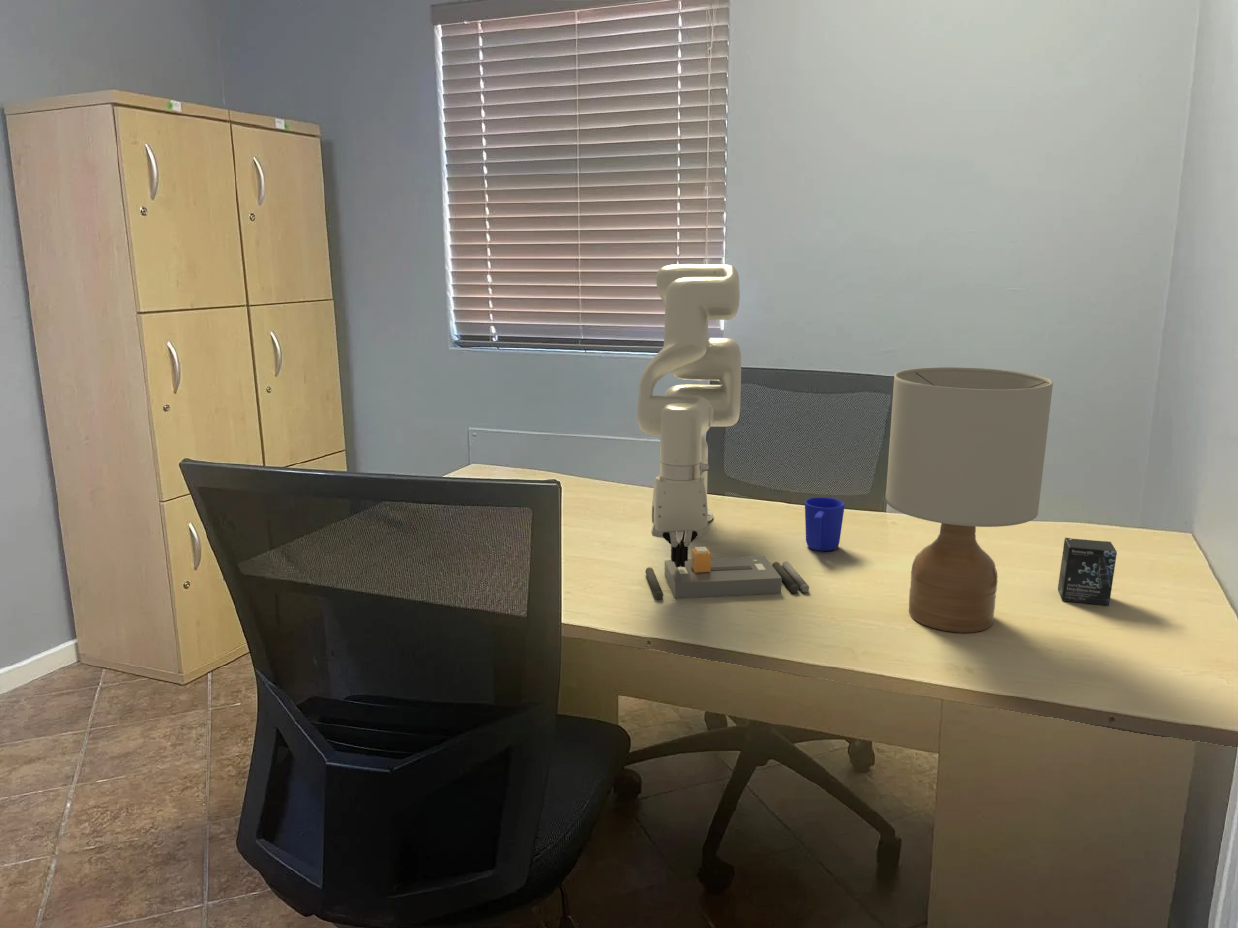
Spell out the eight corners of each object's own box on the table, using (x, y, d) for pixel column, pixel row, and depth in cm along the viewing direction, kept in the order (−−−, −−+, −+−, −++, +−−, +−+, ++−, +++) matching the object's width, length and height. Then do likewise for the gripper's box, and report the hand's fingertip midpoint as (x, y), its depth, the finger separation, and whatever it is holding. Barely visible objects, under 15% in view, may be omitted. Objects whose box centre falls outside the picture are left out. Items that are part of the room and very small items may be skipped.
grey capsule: (771, 568, 180) (771, 560, 180) (779, 567, 180) (779, 560, 180) (791, 594, 167) (791, 586, 167) (799, 593, 167) (800, 585, 167)
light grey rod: (780, 567, 180) (781, 560, 180) (788, 567, 181) (789, 560, 180) (801, 593, 167) (802, 585, 167) (810, 593, 167) (810, 585, 167)
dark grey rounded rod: (644, 574, 177) (644, 566, 177) (652, 573, 178) (652, 566, 177) (655, 600, 164) (655, 592, 164) (663, 600, 165) (663, 592, 164)
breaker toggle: (691, 565, 173) (691, 546, 172) (706, 565, 173) (707, 545, 172) (694, 572, 169) (695, 552, 168) (710, 571, 170) (710, 551, 169)
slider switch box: (664, 574, 177) (664, 559, 176) (763, 570, 179) (764, 555, 178) (675, 598, 166) (675, 582, 165) (781, 593, 168) (781, 577, 167)
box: (1061, 601, 163) (1068, 546, 161) (1057, 590, 169) (1063, 536, 166) (1110, 606, 161) (1117, 550, 158) (1103, 595, 166) (1111, 540, 164)
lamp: (863, 590, 169) (878, 367, 159) (993, 591, 168) (1016, 367, 158) (898, 646, 146) (918, 389, 135) (1049, 648, 145) (1080, 390, 135)
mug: (795, 556, 187) (797, 510, 184) (806, 539, 197) (808, 495, 195) (835, 562, 184) (838, 515, 181) (844, 543, 194) (847, 499, 192)
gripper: (716, 464, 170) (714, 556, 175) (637, 467, 169) (637, 559, 173) (724, 474, 163) (722, 570, 168) (642, 477, 162) (642, 573, 166)
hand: (679, 564), depth 170 cm, fingers closed
